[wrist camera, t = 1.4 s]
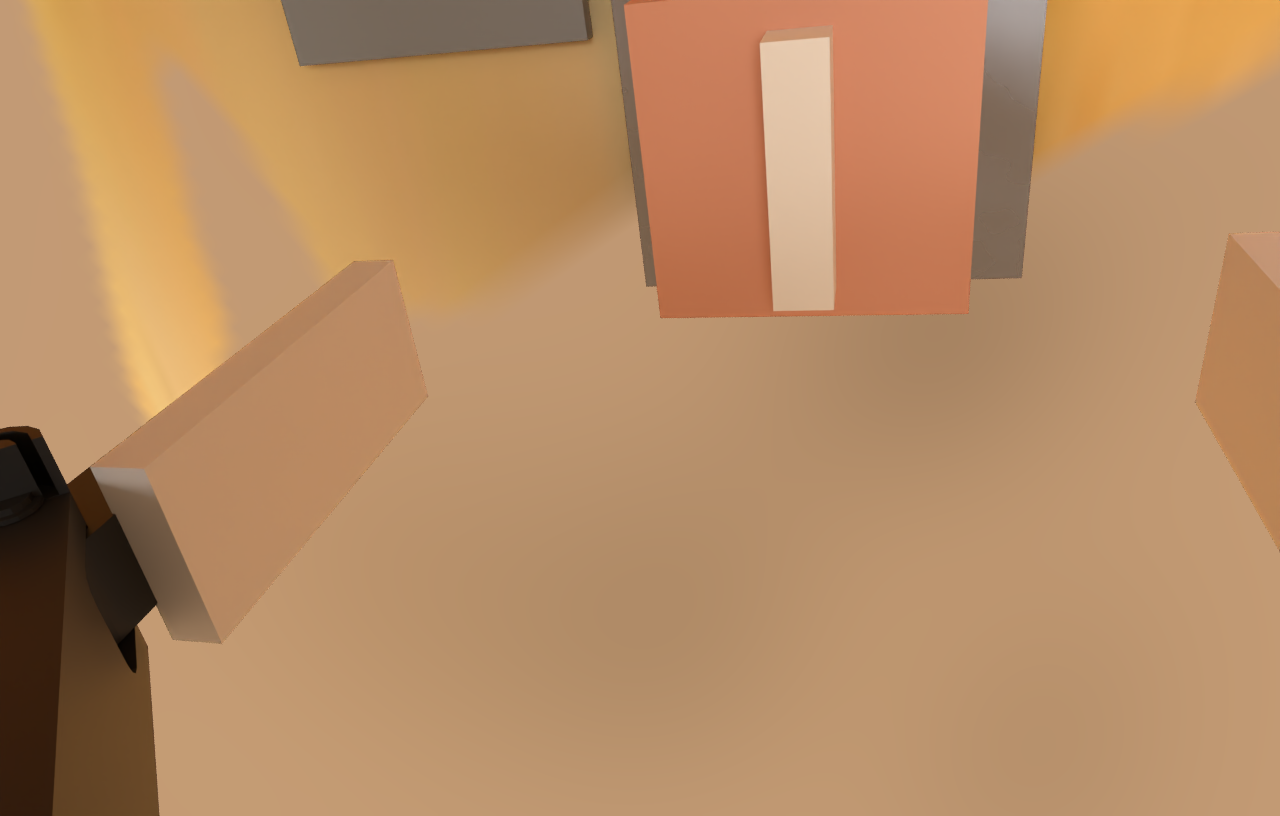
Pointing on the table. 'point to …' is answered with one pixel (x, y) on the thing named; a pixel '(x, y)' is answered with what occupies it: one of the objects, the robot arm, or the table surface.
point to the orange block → (809, 153)
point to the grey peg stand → (1001, 141)
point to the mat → (427, 26)
